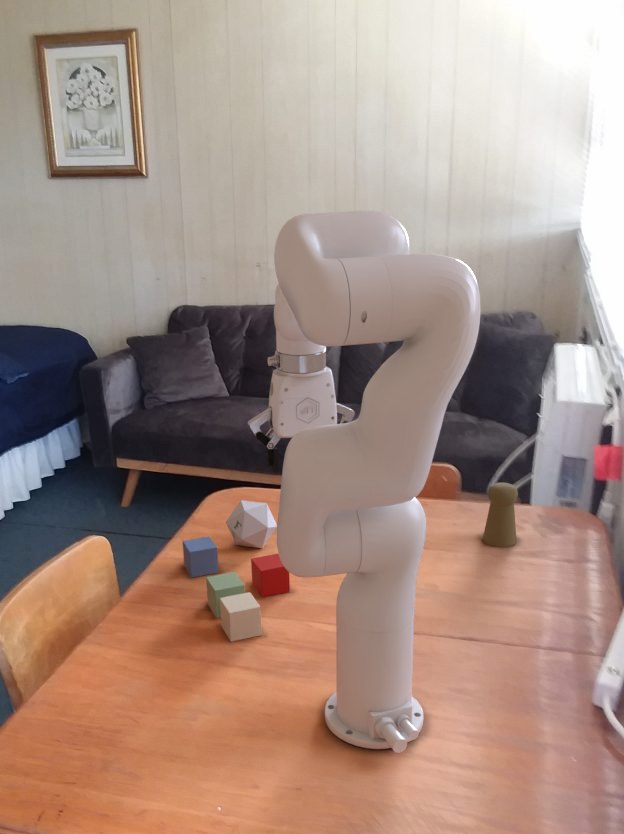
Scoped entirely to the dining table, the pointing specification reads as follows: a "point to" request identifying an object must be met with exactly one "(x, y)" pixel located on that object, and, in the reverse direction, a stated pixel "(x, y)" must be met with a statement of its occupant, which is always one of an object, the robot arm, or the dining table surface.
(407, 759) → the dining table surface
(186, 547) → the blue block
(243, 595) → the cream block
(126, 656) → the dining table surface
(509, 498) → the cork
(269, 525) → the die
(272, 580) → the red block
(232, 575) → the sage block
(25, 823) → the dining table surface
